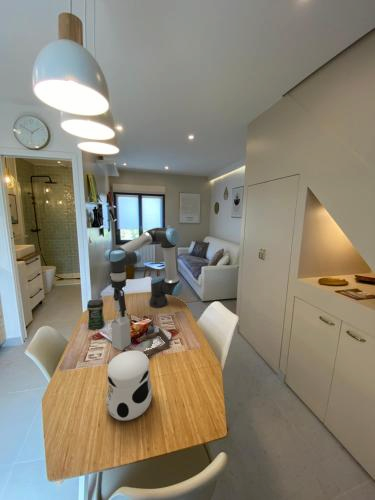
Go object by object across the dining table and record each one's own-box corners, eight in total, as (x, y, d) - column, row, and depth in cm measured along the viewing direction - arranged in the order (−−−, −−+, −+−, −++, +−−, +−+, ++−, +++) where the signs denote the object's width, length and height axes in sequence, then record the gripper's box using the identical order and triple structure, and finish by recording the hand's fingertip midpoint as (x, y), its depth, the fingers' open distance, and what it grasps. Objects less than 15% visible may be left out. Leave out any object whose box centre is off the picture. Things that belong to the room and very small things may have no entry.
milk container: (99, 403, 81) (96, 362, 78) (138, 379, 93) (136, 343, 90) (120, 437, 69) (117, 391, 65) (161, 404, 81) (160, 364, 77)
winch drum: (153, 330, 132) (152, 318, 130) (155, 333, 128) (155, 321, 126) (146, 331, 130) (146, 320, 128) (149, 335, 126) (148, 323, 124)
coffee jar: (87, 330, 130) (85, 303, 127) (90, 324, 138) (88, 298, 134) (103, 329, 132) (101, 302, 129) (105, 322, 140) (104, 297, 137)
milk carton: (112, 347, 115) (110, 315, 111) (121, 340, 121) (120, 310, 117) (121, 351, 111) (120, 319, 108) (130, 344, 117) (129, 313, 114)
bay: (160, 335, 127) (159, 327, 126) (169, 347, 115) (169, 339, 114) (136, 342, 119) (135, 334, 118) (143, 356, 107) (143, 348, 106)
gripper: (107, 274, 118) (108, 308, 121) (116, 287, 97) (117, 328, 100) (120, 272, 122) (121, 306, 125) (131, 285, 100) (132, 325, 104)
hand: (120, 316), depth 113 cm, fingers open, 13 cm apart
